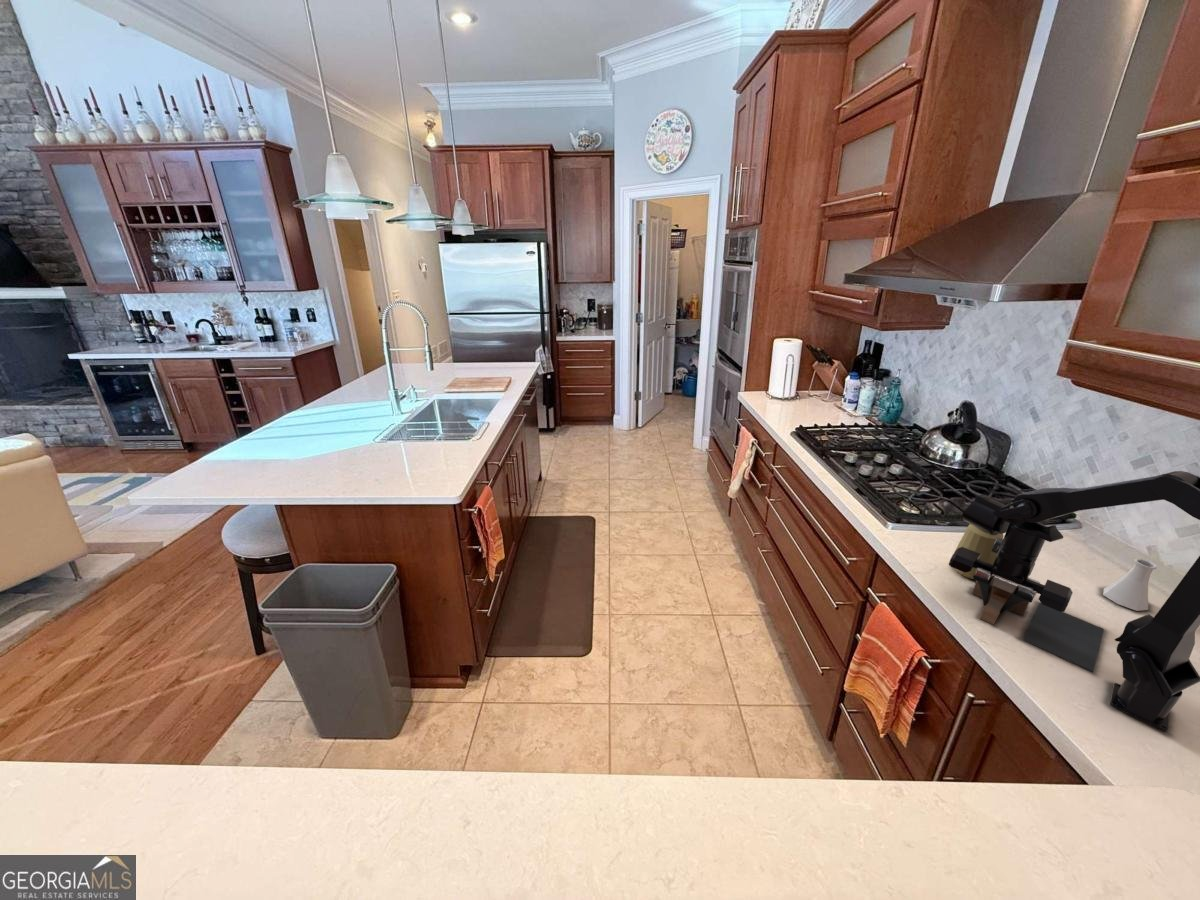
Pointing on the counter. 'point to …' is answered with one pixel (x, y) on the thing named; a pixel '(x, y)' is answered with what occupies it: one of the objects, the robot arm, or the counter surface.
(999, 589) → the brush
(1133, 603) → the flask
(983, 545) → the squeeze bottle
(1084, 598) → the counter surface
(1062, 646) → the mat
